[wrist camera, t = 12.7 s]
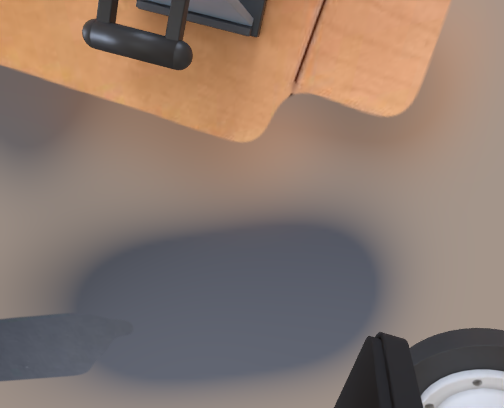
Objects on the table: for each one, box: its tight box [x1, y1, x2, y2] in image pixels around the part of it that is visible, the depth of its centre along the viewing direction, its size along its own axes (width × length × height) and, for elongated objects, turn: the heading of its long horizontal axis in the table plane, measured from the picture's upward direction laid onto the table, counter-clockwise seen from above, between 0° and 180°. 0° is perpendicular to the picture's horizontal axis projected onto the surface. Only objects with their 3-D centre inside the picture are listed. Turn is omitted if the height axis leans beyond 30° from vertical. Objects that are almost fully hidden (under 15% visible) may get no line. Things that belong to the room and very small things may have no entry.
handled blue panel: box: [82, 0, 253, 70], centre depth 27 cm, size 11×9×5 cm
